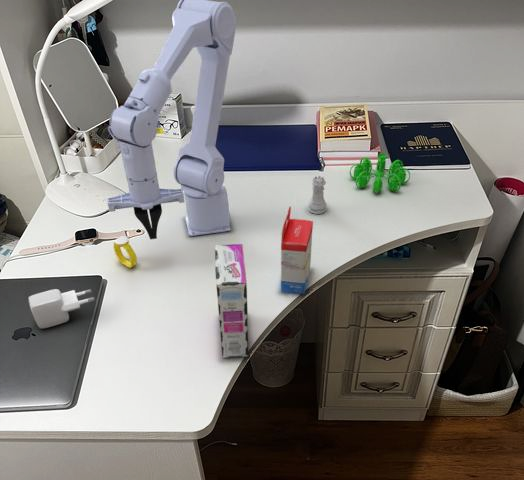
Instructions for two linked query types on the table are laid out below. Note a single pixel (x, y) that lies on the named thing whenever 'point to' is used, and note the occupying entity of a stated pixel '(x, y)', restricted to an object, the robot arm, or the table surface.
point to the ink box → (295, 254)
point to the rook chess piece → (317, 196)
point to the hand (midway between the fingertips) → (153, 236)
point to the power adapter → (55, 306)
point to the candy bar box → (232, 300)
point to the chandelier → (379, 174)
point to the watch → (125, 244)
